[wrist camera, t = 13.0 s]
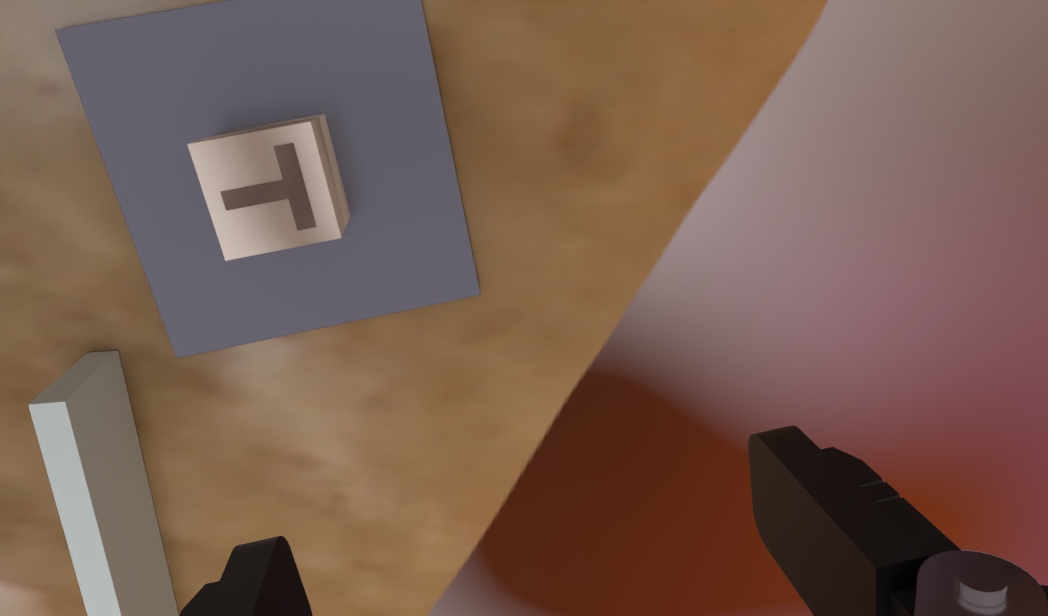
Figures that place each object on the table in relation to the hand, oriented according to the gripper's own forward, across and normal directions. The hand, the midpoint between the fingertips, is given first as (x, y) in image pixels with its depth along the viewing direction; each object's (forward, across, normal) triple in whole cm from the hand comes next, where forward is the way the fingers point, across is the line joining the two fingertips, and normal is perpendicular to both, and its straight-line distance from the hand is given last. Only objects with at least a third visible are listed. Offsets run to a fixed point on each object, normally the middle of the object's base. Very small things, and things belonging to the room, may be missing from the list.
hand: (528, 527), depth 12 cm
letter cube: (+26, +8, -4) cm, 27 cm away
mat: (+27, +8, -4) cm, 28 cm away
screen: (+26, +21, +12) cm, 36 cm away
